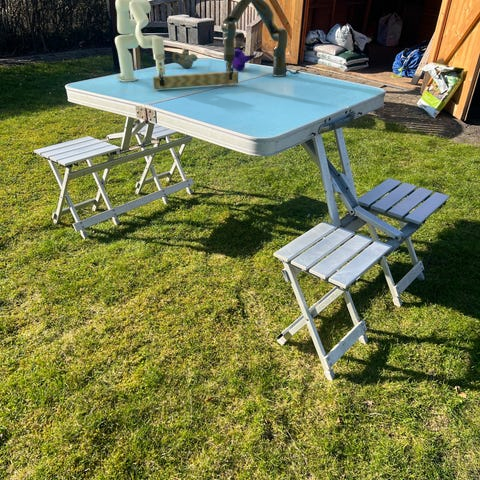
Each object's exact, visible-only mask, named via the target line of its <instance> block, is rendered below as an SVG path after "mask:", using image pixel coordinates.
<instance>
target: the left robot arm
mask: <svg viewBox="0 0 480 480" xmlns="http://www.w3.org/2000/svg"><path fill="white" fill-rule="evenodd" d="M115 10H116V27H117V28H116V29H117V33H119V34H120V35H117V36H115V38H114V43H115V48H116V50H117V51H116V52H117V56H118V62H119V67H120V68H119V69H120V74H119V75H115V76H114V78H115V79H117V80H119V81H120V82H123V83H126V82H128V83H130V82H135V81H137V79H138V78H137V77H135V71H134V63H133V55H132V53H131V52H130V49H136V48H138V47H139V46H140V48H142V49H152V57H153V60H154V61H155V67H156V74H157V75H158V76H159V77H160V80H159V81H160V86H165V83H164V76H166V66H165V60H166V56H165V55H166V54H165V45H164V43H165V42H164V38H163V36H161V35H160V36H159V35H157V34H151V35H150V34H149V35H143V32H142V29H144V28H145V27H146V26H147V25H148V24H149V23H150V22H149V21H150V20H149V18H148V15H147V14H149V13H151V10H152V6H151V3H150V2H149V0H115ZM130 13H131V15H132V17H133V18H130V16H131V15H130Z"/></svg>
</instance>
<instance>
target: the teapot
mask: <svg viewBox="0 0 480 480" xmlns="http://www.w3.org/2000/svg"><path fill="white" fill-rule="evenodd" d="M177 57H178V59H177ZM197 60H198V56H197V55H196V54H195V53H190V54H189V52H188V51H187V49H186V48H184V49H183V51H182V53H180V52H177V51H174V52H173V53H172V61H173V63H175V64H177V65H179V66H180V67H182V68H183V69H190V68H191V67H193V65H194V62H196V61H197Z"/></svg>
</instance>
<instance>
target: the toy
mask: <svg viewBox="0 0 480 480" xmlns="http://www.w3.org/2000/svg"><path fill="white" fill-rule="evenodd" d="M234 49H235V60H234V61H232V64H233V66H234V68H233V70H234V69H235V70H236V71H237V72H241V71H243V70H244V69H245V68H246V63H247V62H249V61H251V60H252V59H254V58H256V57H257V55H258V54H250V55H245V53H244V52H243V50H241V49H239V48H234Z"/></svg>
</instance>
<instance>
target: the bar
mask: <svg viewBox="0 0 480 480" xmlns="http://www.w3.org/2000/svg"><path fill="white" fill-rule="evenodd" d="M231 72H232V71H231ZM163 76H164V83H165V86H160V81H159V80H160V77H159V75H158V76H152V85H153V89H154V90H166V89H167V90H168V89H179V88H193V87H208V86H219V85H233V84H234V85H235V84H239V71H238V70H233V74H232V80H229V72H227V71H215V72H204V73H203V72H202V73H187V74H173V75H172V74H171V75H163Z"/></svg>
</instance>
